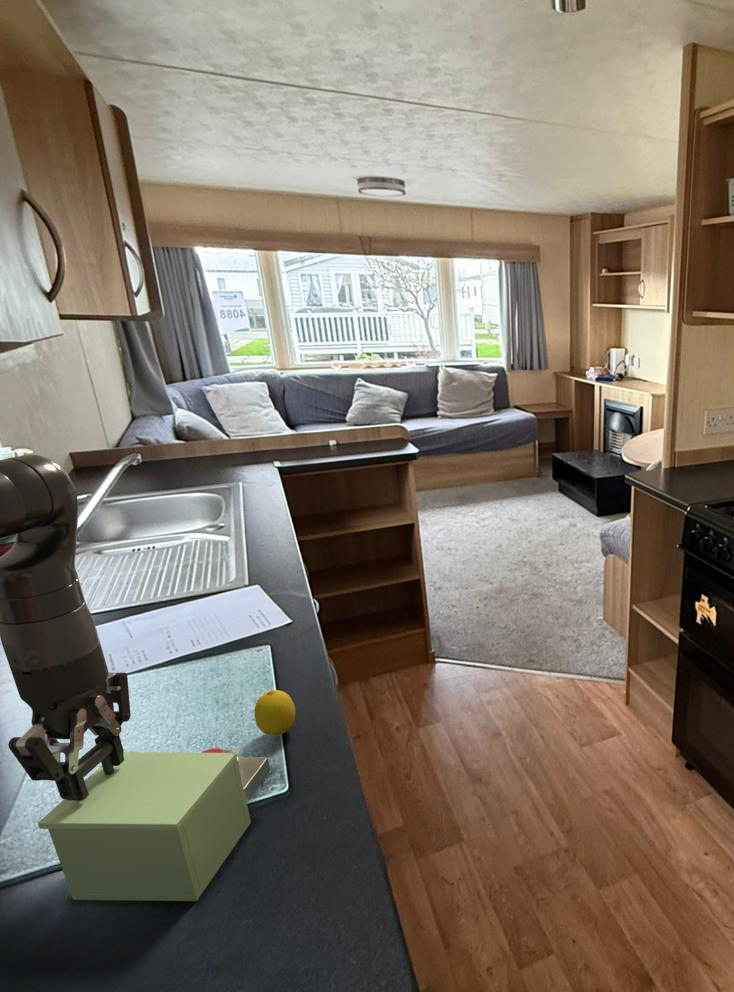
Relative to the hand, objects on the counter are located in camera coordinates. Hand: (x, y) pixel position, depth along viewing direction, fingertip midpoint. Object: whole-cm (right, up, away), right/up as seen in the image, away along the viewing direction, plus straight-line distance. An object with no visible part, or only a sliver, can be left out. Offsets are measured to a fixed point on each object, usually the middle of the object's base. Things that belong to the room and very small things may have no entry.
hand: (95, 780), depth 74 cm
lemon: (+8, -3, +27) cm, 28 cm away
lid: (+5, -1, 0) cm, 6 cm away
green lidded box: (+6, -11, +4) cm, 13 cm away
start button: (+5, -3, +14) cm, 15 cm away
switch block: (+5, -7, +15) cm, 17 cm away
